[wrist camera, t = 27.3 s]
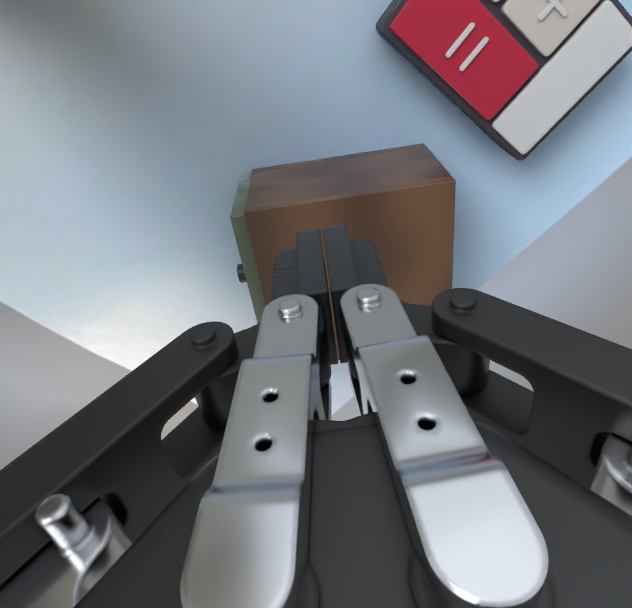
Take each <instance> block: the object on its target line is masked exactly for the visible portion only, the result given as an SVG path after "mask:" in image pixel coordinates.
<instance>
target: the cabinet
mask: <svg viewBox="0 0 632 608" xmlns="http://www.w3.org/2000/svg"><path fill="white" fill-rule="evenodd" d="M454 209H455V180H454V179H453V177H452V176H451V175H450V174H449V173H448V172H447V170H446V169H445V168H444V167H443V166H442V164H441V163H440V162H439V161H438V160H437V159H436V157H435V156H434V155H433V154H432V153H431V152H430V150H429V149H428V148H427V147H426V146H425V145H424V144H418V145H411V146H404V147H398V148H391V149H385V150H378V151H371V152H365V153H358V154H351V155H345V156H338V157H332V158H325V159H318V160H312V161H305V162H299V163H292V164H285V165H279V166H272V167H265V168H259V169H253V170H252V175H251V180H250V185H249V190H248V195H247V200H246V205H245V210H244V214H245V219H246V223H247V227H248V231H249V235H250V240H251V244H252V248H253V252H254V256H255V260H256V265H257V269H258V273H259V277H260V281H261V286H262V290H263V294H264V298H265V302H266V306H267V305H268V304H269V303H270V302H271V298H272V281H273V264H274V259H275V257H276V256H277V255H278V253H279V252H280V251H281V250H285V249H292V248H296V232H298V231H305V230H312V229H319V228H320V233H321V240H322V247H323V254H324V261H325V268H326V275H327V282H328V289H329V297H330V304H331V312H332V320H333V328H334V335H335V343H336V351H337V359H338V360H340V355H339V348H338V341H337V334H336V327H335V320H334V313H333V306H332V299H331V292H330V285H329V277H328V270H327V262H326V255H325V247H324V240H323V232H322V228H325V227H332V226H339V225H346V228H347V232H348V237H349V240H354V239H361V238H366V239H367V240H369V241H370V242H372V243H373V244H374V245H375V247H376V250H377V253H378V256H379V259H380V263H381V265H382V268H383V271H384V274H385V277H386V280H387V283H388V286H389V288H391V289H392V290H394V291H395V293H396V294H397V296H398V298H399V300H401V301H403V302H406V303H409V304H415V305H427V306H432V301H433V299H434V298H435V297H436V296H437V295H438V294H440V293H441V292H444V291H446V290H450V289H452V269H453V239H454Z"/></svg>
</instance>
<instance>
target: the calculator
mask: <svg viewBox="0 0 632 608" xmlns="http://www.w3.org/2000/svg"><path fill="white" fill-rule="evenodd" d="M376 29H377V31H378V32H379V34H380V35H382V36H383V37H384V38H385V39H386V40H387V41H388V42H389V43H390V44H391V45H392V46H393V47H394V48H395V49H397V50H398V51H399V52H400V53H401V54H402V55H403V56H404V57H405V58H406V59H407V60H408V61H409V62H410V63H412V64H413V65H414V66H415V67H416V68H417V69H418V70H419V71H420V72H421V73H422V74H423V75H424V76H425V77H427V78H428V79H429V80H430V81H431V82H432V83H433V84H434V85H435V86H436V87H437V88H438V89H439V90H440V91H442V92H443V93H444V94H445V95H446V96H447V97H448V98H449V99H450V100H451V101H452V102H453V103H454V104H455V105H456V106H458V107H459V108H460V109H461V110H462V111H463V112H464V113H465V114H466V115H467V116H468V117H469V118H470V119H471V120H472V121H473V122H474V123H475V124H476V125H477V126H479V127H480V128H481V129H482V130H483V131H484V132H485V133H486V134H487V135H488V136H489V137H490V138H491V139H492V140H493V141H495V142H496V143H497V144H498V145H499V146H500V147H501V148H502V149H503V150H505V151H506V152H507V153H509V154H510V155H511V156H513V157H514V158H515V159H517V160H523V159H525V158H526V157H527V156H528V155H529V154H530V153H531V152H532V151H533V150H534V149H535V148H536V147H537V146H538V145H539V144H540V143H541V142H542V141H543V140H544V139H545V138H546V137H547V136H548V135H549V134H550V133H551V132H552V131H553V130H554V129H555V128H556V127H557V126H558V125H559V124H560V123H561V122H562V121H563V120H564V119H565V118H566V117H567V116H568V115H569V114H570V113H571V112H572V111H573V110H574V109H575V108H576V107H577V105H578V104H579V103H580V102H581V101H582V100H583V99H584V98H585V97H586V96H587V95H588V94H589V93H590V92H591V91H592V90H593V89H594V88H595V87H596V86H597V85H598V84H599V83H600V82H601V81H602V80H603V79H604V78H605V77H606V76H607V75H608V74H609V73H610V72H611V71H612V70H613V69H614V68H615V67H616V66H617V65H618V64H619V63H620V62H621V61H622V60H623V59H624V58H625V57H626V56H627V55H628V54H629V53H630V52H631V51H632V17H631V16H630V14H629V13H628V12H627V11H626V9H625V8H624V7H623V6H622V5H621V3H620V2H619V1H618V0H393V1H392V2H391V4H390V5H389V6H388V8H387V9H386V11H385V12H384V13H383V15H382V16H381V18H380V19H379V20H378V22H377V24H376Z"/></svg>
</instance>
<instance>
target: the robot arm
mask: <svg viewBox="0 0 632 608" xmlns="http://www.w3.org/2000/svg"><path fill="white" fill-rule="evenodd" d="M322 232H323V240H324V247H325V255H326V262H327V270H328V277H329V285H330V292H331V299H332V306H333V313H334V320H335V327H336V334H337V341H338V348H339V355H340V362H341V363H345V362H348V366H349V372H350V380H351V387H352V390H353V394H354V398H355V402H356V405H357V409H358V413H359V416H358V417H355V418H352V419H350V420H346V421H332V420H331V383H330V377H331V364H338V359H337V351H336V343H335V335H334V328H333V320H332V312H331V304H330V297H329V289H328V282H327V275H326V268H325V261H324V254H323V247H322V240H321V233H320V228H319V229H312V230H305V231H298V232H296V248H292V249H285V250H281V251H280V252H279V253H278V255H277V256H276V257H275V259H274V264H273V281H272V298H271V302H270V303H269V304H268V305H267V306H266V307H265V308H264V310H263V313H262V317H261V322H260V323H258V324H257V325H255V326H253V327H250V328H248V329H245V330H242V331H240V332H237V333H233V330H232V328H231V327H230V326H229V325H227V324H225V323H222V322H206V323H202V324H199V325H196V326H194V327H192V328H190V329H188V330H187V331H185V332H184V333H182V334H181V335H180V336H178V337H177V338H176V339H174V340H173V341H172V342H170V343H169V344H168V345H166V346H165V347H164V348H162V349H161V350H160V351H158V352H157V353H156V354H154V355H153V356H152V357H150V358H149V359H148V360H146V361H145V362H144V363H142V364H141V365H140V366H138V367H137V368H136V369H134V370H133V371H132V372H130V373H129V374H128V375H126V376H125V377H124V378H122V379H121V380H120V381H119V382H117V383H116V384H115V385H113V386H112V387H111V388H109V389H108V390H107V391H105V392H104V393H103V394H101V395H100V396H99V397H97V398H96V399H95V400H93V401H92V402H91V403H89V404H88V405H87V406H85V407H84V408H83V409H81V410H80V411H79V412H77V413H76V414H75V415H74V416H72V417H71V418H69V419H68V420H67V421H65V422H64V423H63V424H61V425H60V426H59V427H57V428H56V429H55V430H53V431H52V432H51V433H50V434H48V435H47V436H45V437H44V438H43V439H41V440H40V441H39V442H37V443H36V444H35V445H33V446H32V447H31V448H29V449H28V450H27V451H26V452H24V453H23V454H21V455H20V456H19V457H18V458H16V459H15V460H14V461H12V462H11V463H9V464H8V465H7V466H6V467H4V468H3V469H2V470H0V608H632V349H629V348H627V347H624V346H621V345H618V344H616V343H613V342H611V341H608V340H606V339H603V338H600V337H598V336H595V335H593V334H590V333H587V332H585V331H582V330H580V329H577V328H574V327H572V326H569V325H567V324H564V323H561V322H559V321H556V320H554V319H551V318H548V317H546V316H543V315H540V314H538V313H535V312H533V311H530V310H527V309H525V308H522V307H520V306H517V305H514V304H512V303H509V302H507V301H504V300H501V299H499V298H496V297H494V296H491V295H488V294H486V293H483V292H480V291H477V290H473V289H467V288H456V289H450V290H446V291H444V292H441V293H440V294H438V295H437V296H436V297H435V298H434V299H433V301H432V306H427V305H415V304H409V303H406V302H403V301H401V300H399V298H398V296H397V294H396V293H395V291H394V290H392V289H391V288H389V286H388V283H387V280H386V277H385V274H384V271H383V268H382V265H381V263H380V259H379V256H378V253H377V250H376V247H375V245H374V244H373V243H372V242H370V241H369V240H367V239H366V238H361V239H354V240H349V237H348V232H347V228H346V225H339V226H332V227H325V228H322ZM490 360H492V361H494V362H496V363H498V364H500V365H502V366H504V367H506V368H508V369H510V370H512V371H514V372H516V373H518V374H520V375H522V376H524V377H525V378H526V379H527V380H528V381H529V382H530V384H531V385H532V387H533V390H534V392H533V391H530V390H529V389H527V388H525V387H522V386H521V385H519V384H517V383H515V382H513V381H511V380H509V379H506V378H505V377H502V376H501V375H499V374H497V373H495V372H493V371H491V370H489V364H490ZM194 397H195V398H196V401H197V403H198V406H199V407H198V408H197V409H196V410H194V411H193V412H192V413H191V414H190V415H189V416H188V417H187V418H186V419H185V420H183V421H182V422H181V423H180V424H179V425H178V426H177V427H176V428H175V429H173V430H172V431H171V432H170V433H169V434H168V435H167V436H166V437H165V438H164V439H163V440H161V432H162V429H163V427H164V425H165V424H166V422H167V421H168V420H169V419H170V418H171V417H172V416H173V415H174V414H176V413H177V412H178V411H179V410H180V409H181V408H182V407H184V406H185V405H186V404H187V403H188V402H189V401H190V400H191V399H193V398H194Z"/></svg>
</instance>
